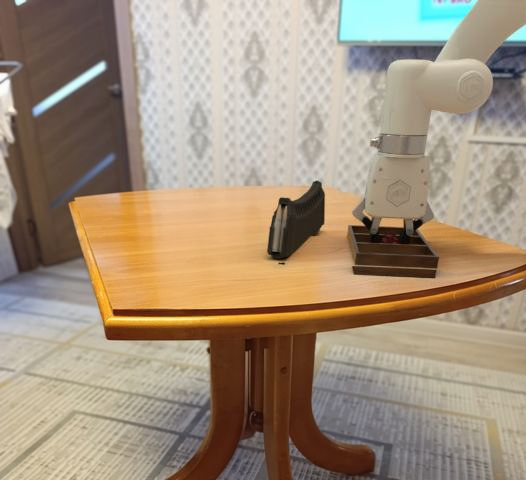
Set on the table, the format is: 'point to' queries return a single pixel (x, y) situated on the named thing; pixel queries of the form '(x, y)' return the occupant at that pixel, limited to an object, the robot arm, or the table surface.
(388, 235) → the dice
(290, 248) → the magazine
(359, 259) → the rack
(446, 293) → the table surface
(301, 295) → the table surface
